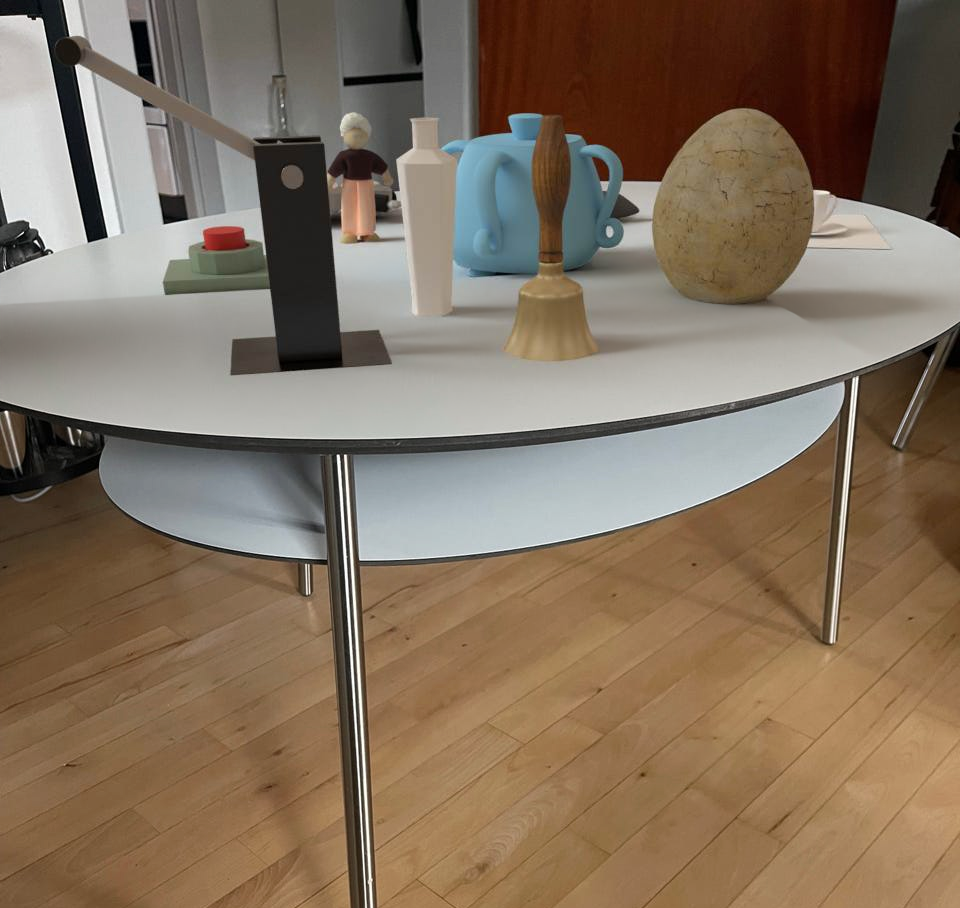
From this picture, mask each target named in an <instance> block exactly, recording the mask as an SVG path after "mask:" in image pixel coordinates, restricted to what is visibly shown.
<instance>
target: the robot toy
mask: <svg viewBox="0 0 960 908" xmlns="http://www.w3.org/2000/svg"><path fill="white" fill-rule="evenodd" d="M373 183H374V195H375V210H376V216H377V217H378V216H380V215H381V214H382V213H384V214H386V213H389V211H392V210H398V209H400V208H402V206H401V200H398V198H397V194H396V192H395V191H394V190H393V189H392V188H391V187H390V186H386V185H385V186H384V185H382V184H381V183H380V181H379V182H378V181H375V180H373ZM341 196H342V183H341V184H339V183H337V182H335V183H334V184H333V189H332V191H331V192H329V205H330V216H334V215H335V216H336V215H337V214H338V213H340V212H341Z"/></svg>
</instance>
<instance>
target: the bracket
mask: <svg viewBox="0 0 960 908" xmlns="http://www.w3.org/2000/svg"><path fill="white" fill-rule="evenodd" d="M252 139H253V140H254V141H256V142H258V143H260V144H254V145H253V149H254V157H255V161H254V165H255V172H256V183H257V190H258V191H257V192H258V199H259V208H260V216H261V223H262V231H263V241H264V251H265V255H266V259H267V267H268V275H269V284H270V289H269V292H270V301H271V307H272V317H273V325H274V333H275V336H262V337H261V336H260V337H245V338H244V337H243V338H233V339H232V340H231V356H230V369H229V370H230V371H229V376H243V375H259V374H272V373H286V372H301V371H315V370H329V369H331V370H332V369H343V368H344V369H345V368H357V367H358V368H359V367H374V366H375V367H376V366H388V365H393V362H392V359H391V356H390V353H389V351H388V349H387V346H386V344H385V341H384V338H383V336H382V334H381V331H380V329H370V330H369V329H368V330H367V329H366V330H354V331H341V324H340V312H339V301H338V300H339V299H338V289H337V276H336V265H335V264H336V263H335V255H334V242H333V229H332V220H331V219H332V218H331V215H330V205H329V193H328V181H327V174H328V169H327V159H326V149H325V143H324V141H322V137H321V135H320V134H314V135H288V136H261V137H260V136H258V137H257V136H256V137H255V136H254V137H253V138H252ZM277 141H281V142H283V143H277Z"/></svg>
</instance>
